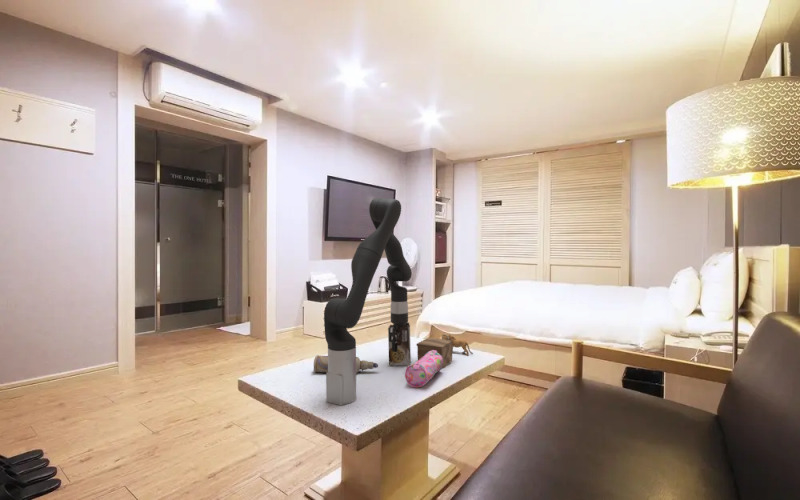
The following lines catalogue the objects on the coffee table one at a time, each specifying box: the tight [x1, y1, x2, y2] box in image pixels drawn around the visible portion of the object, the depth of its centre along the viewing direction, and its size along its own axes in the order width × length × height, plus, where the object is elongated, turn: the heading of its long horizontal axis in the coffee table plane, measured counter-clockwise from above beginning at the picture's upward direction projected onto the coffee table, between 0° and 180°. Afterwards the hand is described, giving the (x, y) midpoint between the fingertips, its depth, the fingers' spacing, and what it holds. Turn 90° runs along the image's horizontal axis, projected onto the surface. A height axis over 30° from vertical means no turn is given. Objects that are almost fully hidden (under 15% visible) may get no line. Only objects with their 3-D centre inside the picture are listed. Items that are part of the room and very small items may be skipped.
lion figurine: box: [441, 333, 474, 357], centre depth 174 cm, size 15×5×9 cm, turn 71°
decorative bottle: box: [313, 355, 379, 374], centre depth 149 cm, size 26×8×7 cm, turn 85°
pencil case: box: [404, 350, 443, 389], centre depth 141 cm, size 21×9×9 cm, turn 155°
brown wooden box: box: [416, 336, 453, 369], centre depth 160 cm, size 13×12×9 cm
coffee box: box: [387, 324, 412, 367], centre depth 159 cm, size 9×6×16 cm
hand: (399, 349), depth 160 cm, fingers closed on coffee box, 8 cm apart
